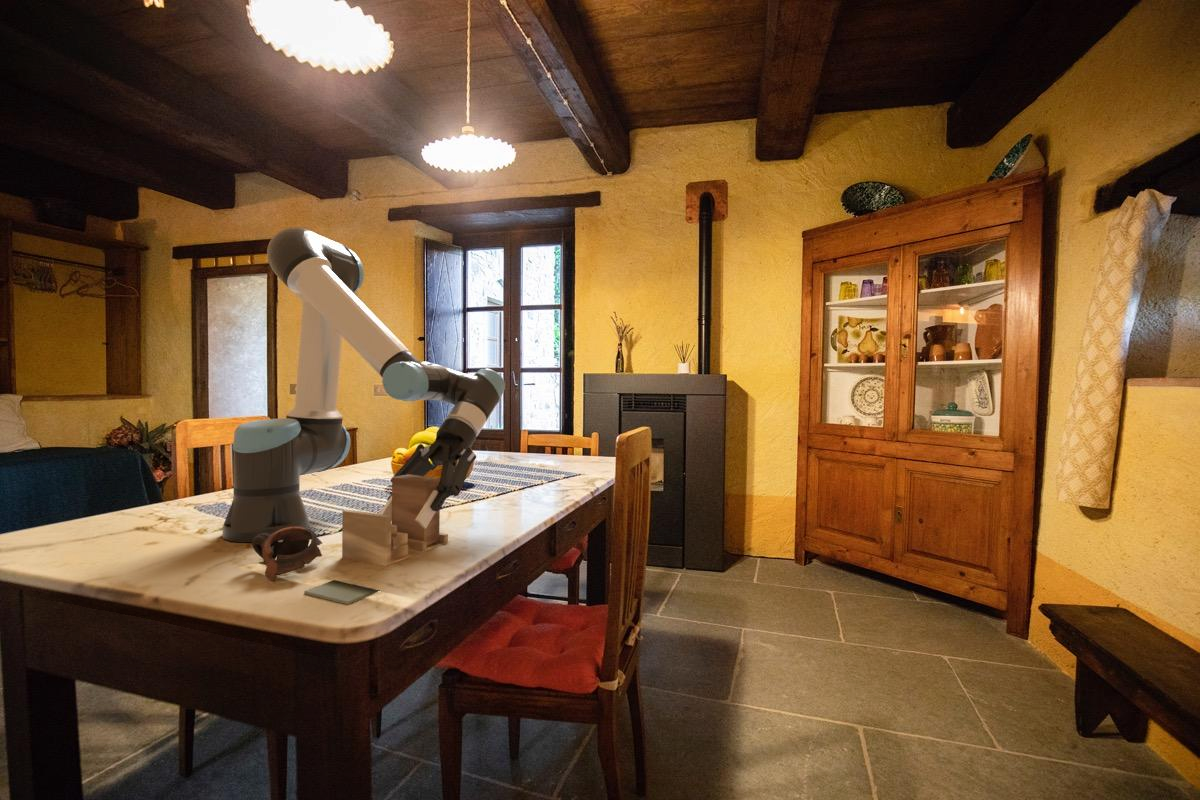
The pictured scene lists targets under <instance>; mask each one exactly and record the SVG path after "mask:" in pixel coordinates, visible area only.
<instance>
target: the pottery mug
mask: <svg viewBox="0 0 1200 800" xmlns="http://www.w3.org/2000/svg"><path fill="white" fill-rule="evenodd" d="M279 540H282V541H279ZM251 543H252V544H251V545H252V548H253V550H254V552H255V553H256V554H257V555H258V556H259V557H260V558H261V559H263V564H264V565H265V566H266V568H265V571H264V573H263V574H264V577H265V578H266V579H267V580H269V581H272V582H274V581H275V579H276V578H277V576H281V575H286V574H288V573H291V572H294V571H297V570H300V569H303V568H305V567H306V566H305V565H309V564H311V563H312V562H313V561H314V560H315V559H316V558H318V557H319V558H320V557H323V554H322V552H321V549H320V547H318V546H320V545H322V544H323V542H322V540H320V538H319V537H317V533H316V532H315V531H314V530H312V529H310V528H304V527H298V526H295V527H287V528H283V529H280V530H278V531H276V532H274V533H273V534H268V533H262V534H259V535H257V536H256V537H255V538H254V539H253V542H251Z"/></svg>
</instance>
